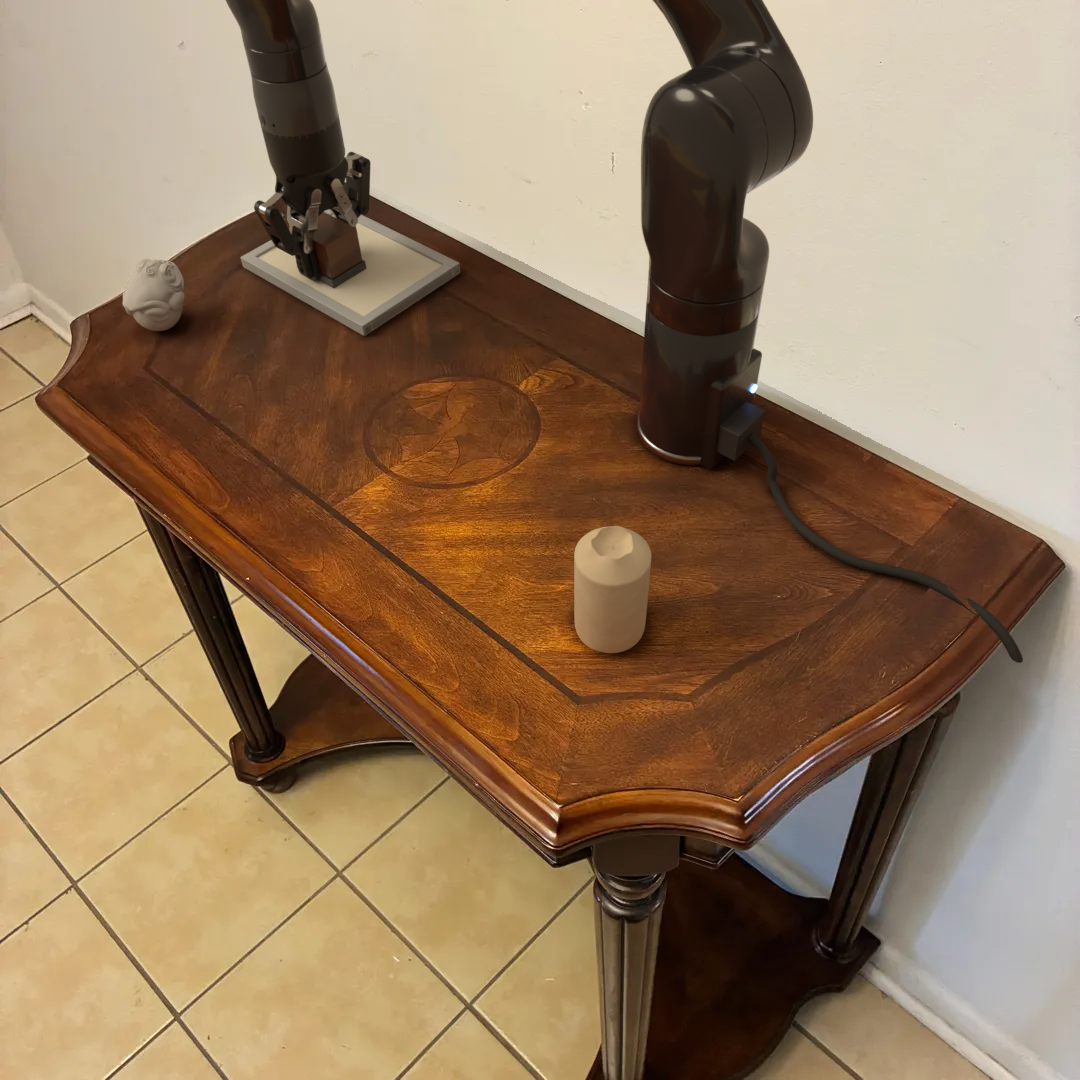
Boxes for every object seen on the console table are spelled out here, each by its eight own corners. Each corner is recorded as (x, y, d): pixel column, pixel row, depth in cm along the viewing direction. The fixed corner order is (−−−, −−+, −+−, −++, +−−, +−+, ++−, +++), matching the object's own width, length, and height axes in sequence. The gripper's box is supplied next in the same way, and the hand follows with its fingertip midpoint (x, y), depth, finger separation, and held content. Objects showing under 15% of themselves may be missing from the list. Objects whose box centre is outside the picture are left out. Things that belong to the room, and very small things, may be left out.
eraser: (366, 268, 108) (359, 227, 104) (333, 288, 106) (325, 248, 102) (330, 249, 111) (321, 208, 107) (297, 268, 108) (287, 228, 105)
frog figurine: (209, 312, 105) (189, 255, 100) (168, 350, 101) (145, 293, 96) (163, 299, 107) (141, 243, 102) (120, 337, 103) (96, 279, 98)
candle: (646, 654, 75) (654, 571, 68) (574, 654, 75) (574, 572, 68) (643, 597, 79) (650, 512, 71) (574, 597, 79) (574, 512, 71)
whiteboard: (460, 272, 109) (459, 262, 108) (364, 336, 102) (362, 326, 101) (339, 212, 118) (337, 202, 117) (242, 267, 111) (239, 257, 110)
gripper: (265, 155, 90) (303, 310, 103) (379, 97, 97) (402, 249, 110) (214, 131, 93) (258, 284, 106) (328, 76, 100) (356, 226, 113)
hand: (331, 265), depth 108 cm, fingers closed on eraser, 4 cm apart
